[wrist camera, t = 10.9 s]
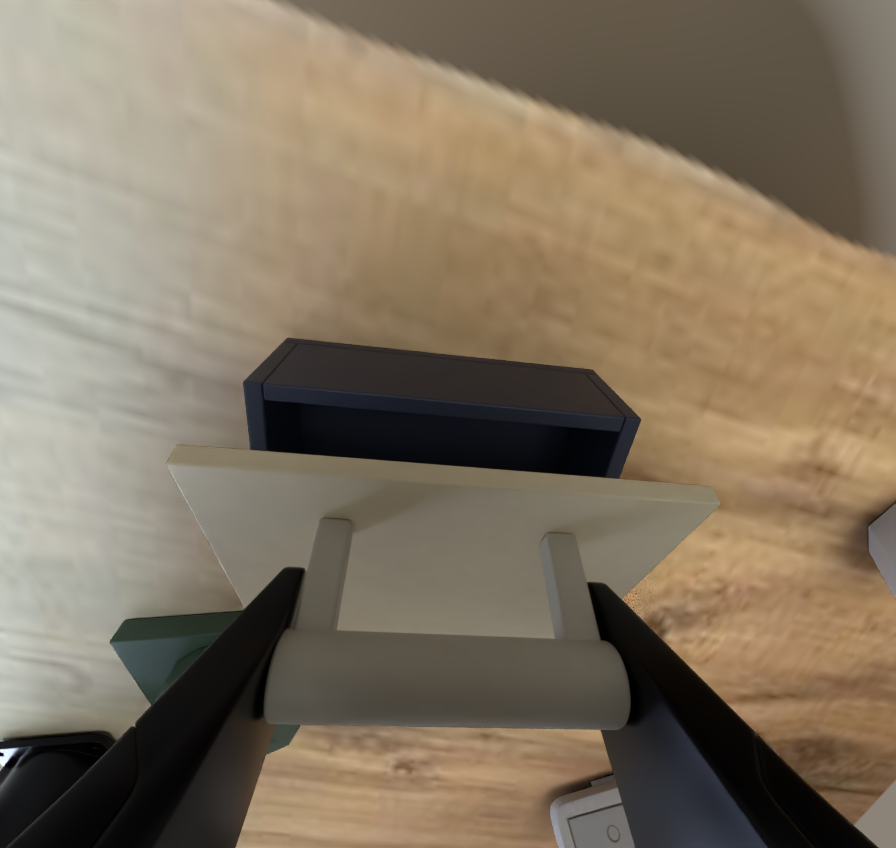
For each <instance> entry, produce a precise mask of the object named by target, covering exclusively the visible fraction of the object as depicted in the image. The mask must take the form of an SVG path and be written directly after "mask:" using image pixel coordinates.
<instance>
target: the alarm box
mask: <svg viewBox="0 0 896 848" xmlns="http://www.w3.org/2000/svg"><path fill="white" fill-rule="evenodd" d="M240 613H241V612H229V613H215V614H202V615H188V616H175V617H161V618H148V619H134V620H125V621H124V622H123V623H122V625H121V626H120V627H119V629H118V630H117V632H116V633H115V634H114V636H113V637H112V639H111V640H110V644H111V646H112V647H113V649H114V650H115V652H116V653H117V655H118V656H119V658H120V659H121V661H122V662H123V664H124V665H125V667H126V668H127V670H128V671H129V673H130V674H131V675H132V677H133V678H134V680H135V681H136V683H137V684H138V686H139V687H140V689H141V690H142V692H143V693H144V695H145V696H146V698H147V699H148V701H149V702H150V704H151V705H152V704H153V703H154V702H155V701H156V700H157V699H158V698H159V697H160V696H161V695H162V694H163V693H164V692H165V691H166V690H167V689H168V688H169V687H170V686H171V685H172V684H173V683H174V682H175V681H176V679H177V678H178V677H179V676H180V675H181V674H182V673H183V672H184V671H185V670H186V669H187V668H188V667H189V666H190V665H191V664H192V663H193V662H194V661H195V660H196V659H197V658H198V657H199V656H200V654H201V653H202V652H203V651H204V650H205V649H206V648H207V647H208V646H209V645H210V644H211V643H212V642H213V641H214V640H215V639H216V638H217V637H218V636H219V635H220V634H221V633H222V632H223V631H224V630H225V628H226V627H227V626H228V625H229V624H230V623H231V622H232V621H233V620H234V619H235V618H236V617H237V616H238V615H239V614H240ZM299 727H300V725H286V724H276V726H275V729H274V732H273V735H272V738H271V741H270V744H269V747H268V750H267V753H266V755H267V754H269V753H271V752H274V751H276V750H278V749H280V748H283V747H285V746H287V745H289V743H290V742H291V740H292V739H293V737H294V735H295V734H296V732H297V730H298V729H299Z"/></svg>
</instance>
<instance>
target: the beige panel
mask: <svg viewBox="0 0 896 848" xmlns="http://www.w3.org/2000/svg"><path fill="white" fill-rule="evenodd" d="M166 465H167V467H168V469H169V471H170V472H171V474H172V476H173V478H174V480H175V482H176V483H177V485H178V487H179V489H180V491H181V493H182V494H183V496H184V498H185V500H186V502H187V504H188V506H189V507H190V509H191V511H192V513H193V515H194V517H195V518H196V520H197V522H198V524H199V526H200V528H201V529H202V531H203V533H204V535H205V537H206V539H207V541H208V542H209V544H210V546H211V548H212V550H213V552H214V553H215V555H216V557H217V559H218V561H219V563H220V564H221V566H222V568H223V570H224V572H225V574H226V576H227V577H228V579H229V581H230V583H231V585H232V587H233V588H234V590H235V592H236V594H237V596H238V598H239V599H240V601H241V603H242V605H243V607H244V609H245V608H246V607H247V606H248V605H249V604H250V602H251V601H252V600H253V599H254V598H255V597H256V596H257V595H258V594H259V593H260V592H261V591H262V590H263V589H264V588H265V587H266V586H267V585H268V584H269V583H270V582H271V581H272V580H273V579H274V578H275V576H276V575H277V574H278V573H279V572H280V571H281V570H282V569H283V568H285V567H303V568H305V570H306V576H305V581H304V585H303V589H302V593H301V597H300V602H299V606H298V610H297V614H296V619H295V623H294V627H293V629H290V628H288V629H286V630H285V631H284V633H283V634H282V635H281V637H280V639H279V640H278V642H277V644H276V647H275V649H274V652H273V655H272V659H271V663H270V667H269V671H268V676H267V681H266V687H265V695H264V718H265V721H266V722H267V723H269V724H286V725H347V726H408V727H469V728H530V729H591V730H619V729H621V728H623V727H624V726H625V725H626V723H627V721H628V718H629V714H630V705H631V697H630V687H629V681H628V676H627V672H626V669H625V666H624V663H623V661H622V658H621V656H620V654H619V653H618V651H617V649H616V648H615V647H614V646H613V645H612V644H610V643H609V642H607V641H603V640H601V639H600V635H599V631H598V627H597V623H596V619H595V615H594V610H593V606H592V602H591V598H590V594H589V590H588V586H587V582H602V583H605V584H606V585H608V586H609V587H610V588H611V589H612V590H613V591H614V592H615V593H616V594H617V595H618V596H619V597H620V598H621V599H622V598H623V597H624V596H625V595H626V594H627V593H628V592H629V591H630V590H631V589H632V588H633V587H635V586H636V585H637V584H638V583H639V582H640V581H641V580H642V579H643V578H644V577H645V576H646V575H647V574H648V573H649V572H650V571H651V570H652V569H654V568H655V567H656V566H657V565H658V564H659V563H660V562H661V561H662V560H663V559H664V558H665V557H666V556H667V555H668V554H669V553H670V552H671V551H672V550H674V549H675V548H676V547H677V546H678V545H679V544H680V543H681V542H682V541H683V540H684V539H685V538H686V537H687V536H688V535H689V534H690V533H691V532H692V531H694V530H695V529H696V528H697V527H698V526H699V525H700V524H701V523H702V522H703V521H704V520H705V519H706V518H707V517H708V516H709V515H710V514H711V513H712V512H714V511H715V510H716V509H717V508H718V507H719V506H720V501H719V500H718V498H717V496H716V494H715V492H714V490H713V489H712V487H711V486H704V485H691V484H678V483H666V482H653V481H640V480H627V479H614V478H602V477H589V476H576V475H563V474H551V473H538V472H525V471H512V470H500V469H487V468H474V467H461V466H448V465H436V464H423V463H410V462H397V461H385V460H372V459H359V458H346V457H334V456H321V455H308V454H295V453H283V452H270V451H257V450H244V449H231V448H219V447H206V446H193V445H180V444H179V445H176V447H175V448H174V450H173V452H172V453H171V455H170V457H169V458H168V460H167V462H166Z"/></svg>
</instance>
